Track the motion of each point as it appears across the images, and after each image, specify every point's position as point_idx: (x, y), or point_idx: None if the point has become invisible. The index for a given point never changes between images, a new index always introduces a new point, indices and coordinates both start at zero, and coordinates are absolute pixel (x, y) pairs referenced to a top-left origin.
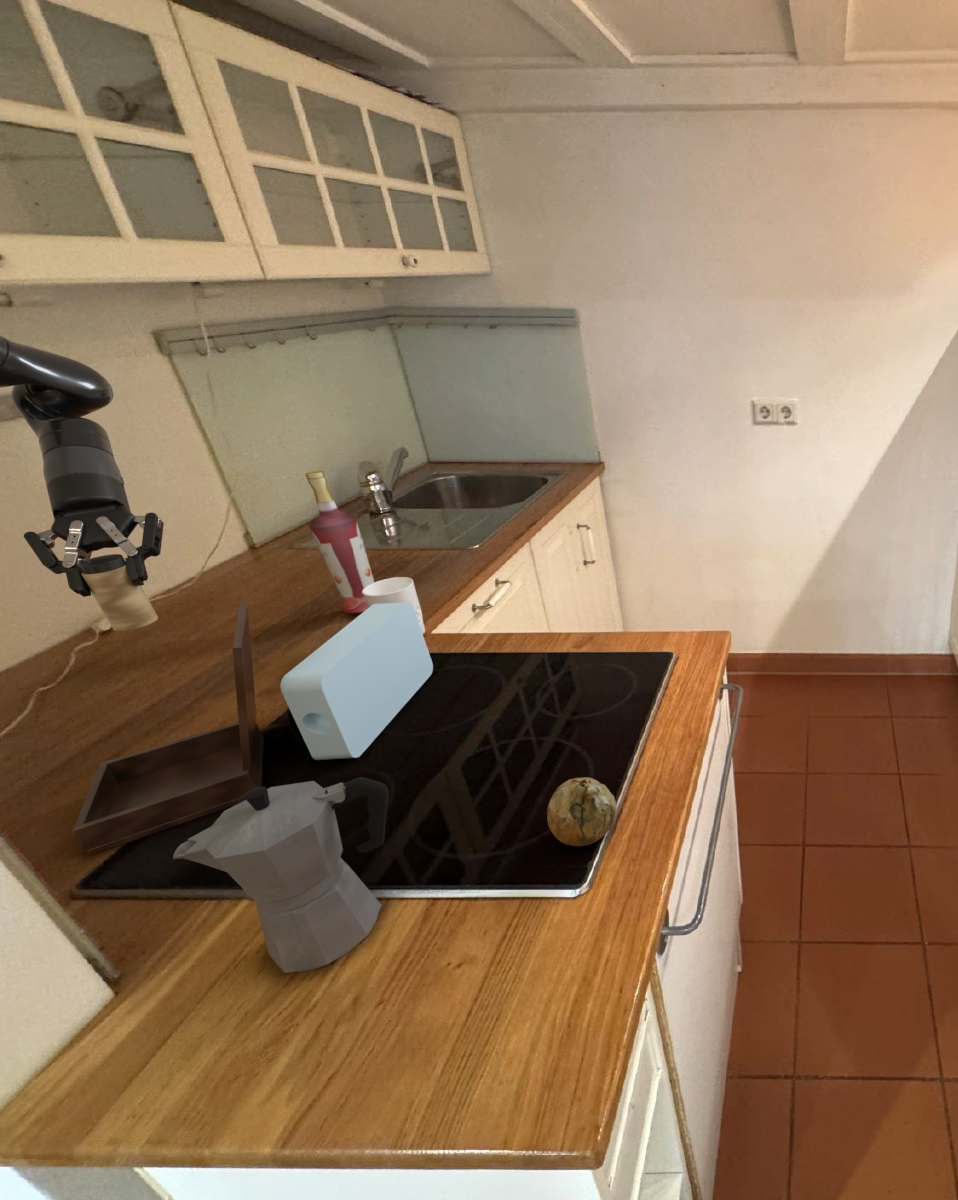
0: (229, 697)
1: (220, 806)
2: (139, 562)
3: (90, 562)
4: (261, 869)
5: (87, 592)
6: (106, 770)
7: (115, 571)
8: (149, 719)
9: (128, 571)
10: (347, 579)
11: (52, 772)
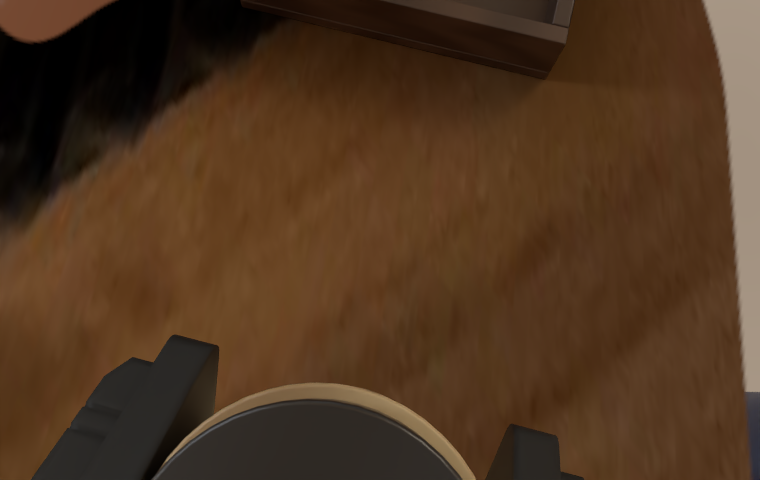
0: (237, 370)
1: None
2: (49, 469)
3: None
4: None
5: (494, 467)
6: (555, 2)
7: (261, 391)
8: (440, 426)
9: (181, 403)
10: None
11: (663, 299)
